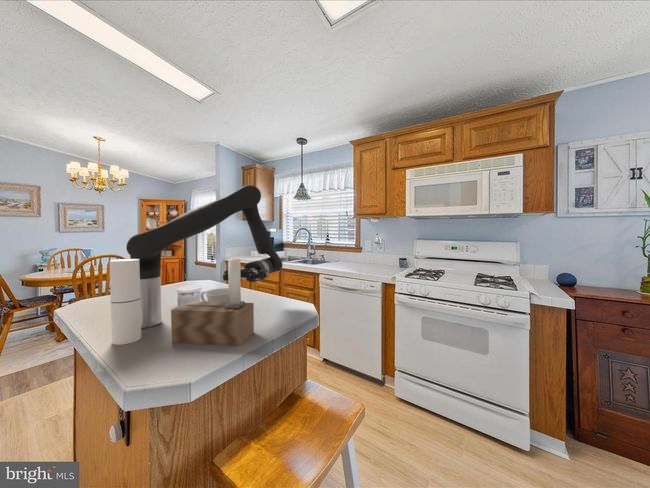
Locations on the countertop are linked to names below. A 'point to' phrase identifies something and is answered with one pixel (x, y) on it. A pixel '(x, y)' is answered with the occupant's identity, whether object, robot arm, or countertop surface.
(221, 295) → the teacup
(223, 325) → the brown rectangular block
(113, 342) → the cylindrical container
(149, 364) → the countertop surface
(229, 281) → the lever
